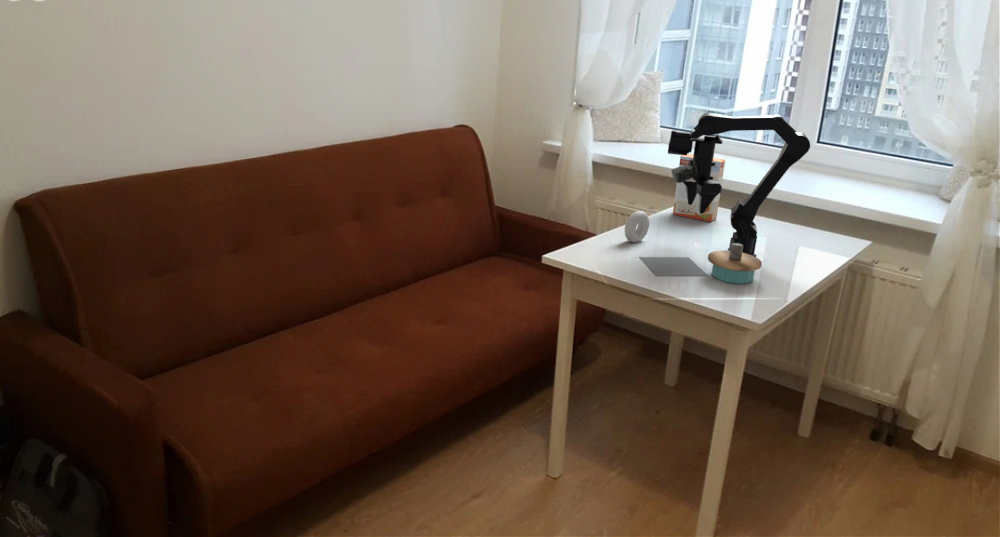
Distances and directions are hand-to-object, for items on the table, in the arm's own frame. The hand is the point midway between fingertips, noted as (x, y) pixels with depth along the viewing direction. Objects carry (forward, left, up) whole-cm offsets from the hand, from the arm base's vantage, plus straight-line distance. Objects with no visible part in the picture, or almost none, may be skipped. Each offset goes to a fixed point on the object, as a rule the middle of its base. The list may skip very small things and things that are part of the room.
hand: (695, 208), depth 226 cm
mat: (+12, +18, -12) cm, 25 cm away
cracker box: (-14, -32, -12) cm, 37 cm away
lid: (-2, +26, -7) cm, 27 cm away
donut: (+16, -4, -12) cm, 21 cm away
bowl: (-2, +26, -12) cm, 29 cm away
